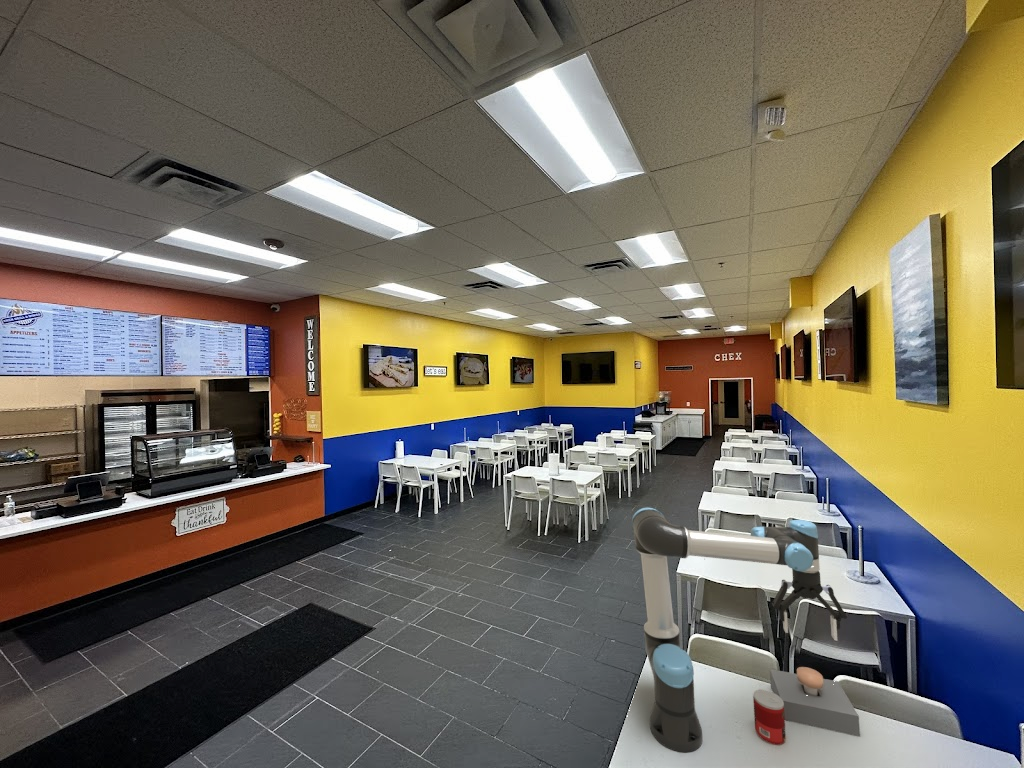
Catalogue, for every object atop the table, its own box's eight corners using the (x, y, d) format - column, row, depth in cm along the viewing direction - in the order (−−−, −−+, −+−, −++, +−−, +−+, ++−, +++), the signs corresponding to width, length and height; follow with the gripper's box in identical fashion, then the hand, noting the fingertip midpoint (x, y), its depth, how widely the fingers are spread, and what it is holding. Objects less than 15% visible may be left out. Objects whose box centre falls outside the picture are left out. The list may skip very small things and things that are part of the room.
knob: (801, 703, 132) (800, 678, 132) (795, 688, 138) (794, 665, 138) (827, 708, 129) (826, 683, 129) (820, 693, 136) (818, 669, 136)
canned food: (790, 747, 119) (788, 709, 120) (760, 743, 121) (758, 705, 121) (779, 726, 127) (777, 690, 127) (751, 723, 128) (749, 687, 129)
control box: (782, 719, 130) (781, 700, 130) (770, 686, 144) (769, 669, 145) (860, 736, 122) (858, 716, 123) (839, 699, 137) (838, 681, 137)
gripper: (764, 568, 136) (768, 633, 135) (856, 578, 126) (861, 648, 125) (760, 560, 142) (763, 621, 142) (847, 569, 133) (851, 635, 132)
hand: (809, 634), depth 134 cm, fingers open, 13 cm apart
